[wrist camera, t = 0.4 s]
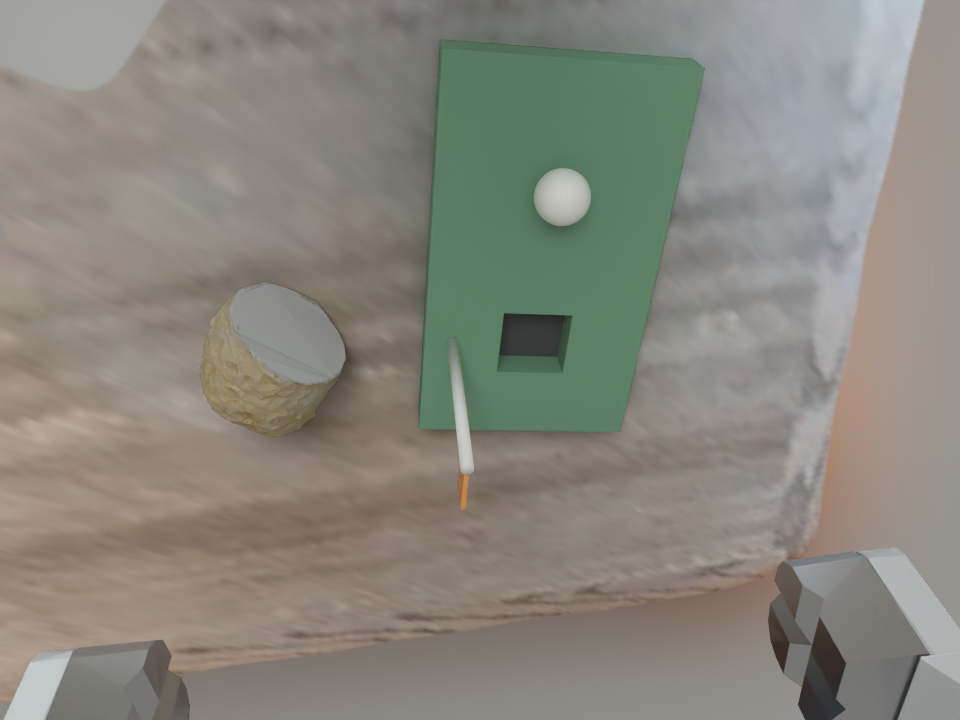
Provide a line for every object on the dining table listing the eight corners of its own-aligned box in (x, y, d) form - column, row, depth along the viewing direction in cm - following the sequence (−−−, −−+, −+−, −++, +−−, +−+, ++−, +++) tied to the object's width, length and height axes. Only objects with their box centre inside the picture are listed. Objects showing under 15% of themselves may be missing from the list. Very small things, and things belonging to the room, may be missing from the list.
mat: (440, 39, 48) (458, 116, 34) (691, 58, 50) (805, 139, 36) (418, 410, 63) (425, 567, 49) (612, 413, 65) (671, 565, 51)
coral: (389, 355, 52) (301, 480, 52) (347, 320, 61) (272, 426, 61) (267, 275, 47) (171, 412, 47) (241, 249, 56) (160, 364, 56)
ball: (533, 158, 50) (542, 178, 47) (588, 161, 51) (601, 181, 48) (526, 211, 52) (534, 234, 49) (580, 214, 52) (591, 236, 49)
